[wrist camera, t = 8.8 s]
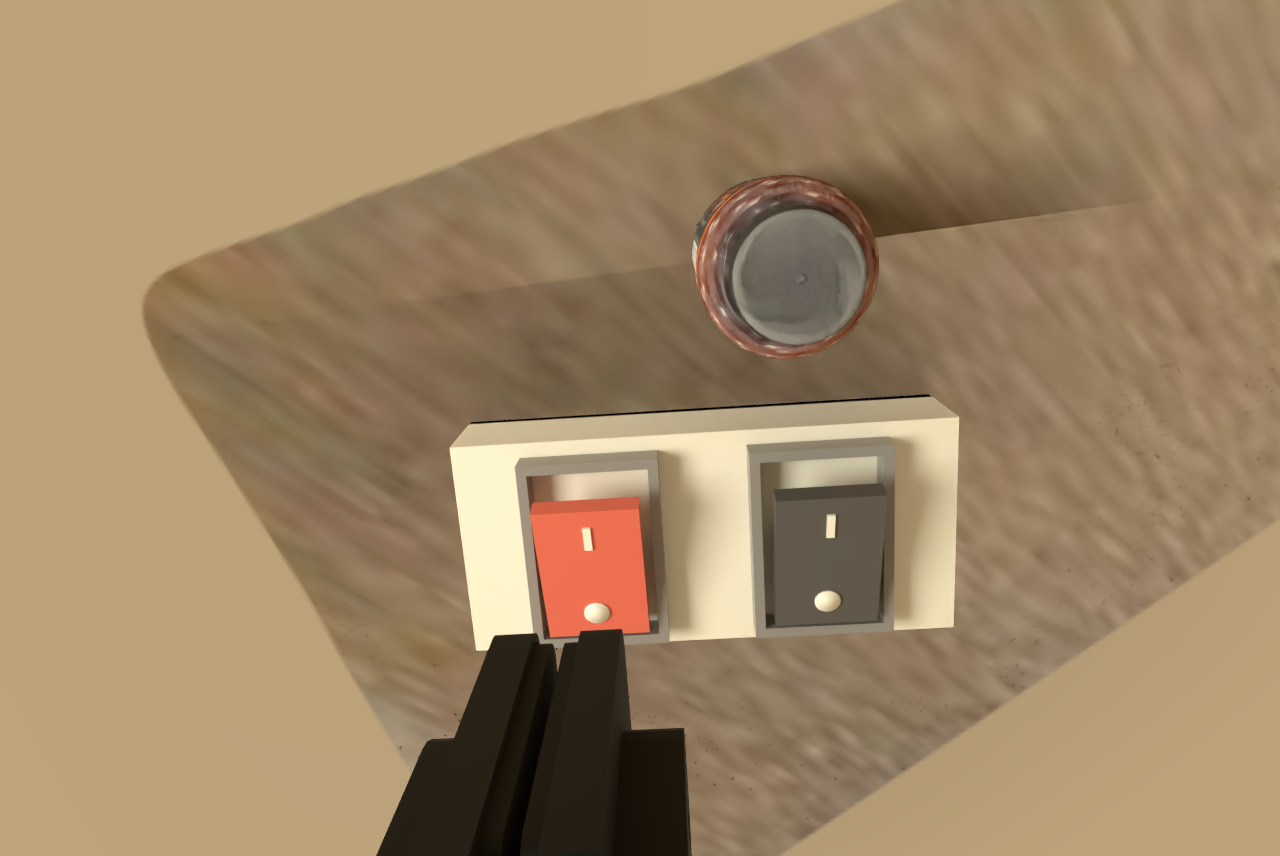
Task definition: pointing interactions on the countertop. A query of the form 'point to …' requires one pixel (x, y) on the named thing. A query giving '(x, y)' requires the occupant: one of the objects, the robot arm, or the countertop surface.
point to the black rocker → (827, 553)
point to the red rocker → (591, 565)
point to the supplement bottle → (785, 265)
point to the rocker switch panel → (711, 508)
